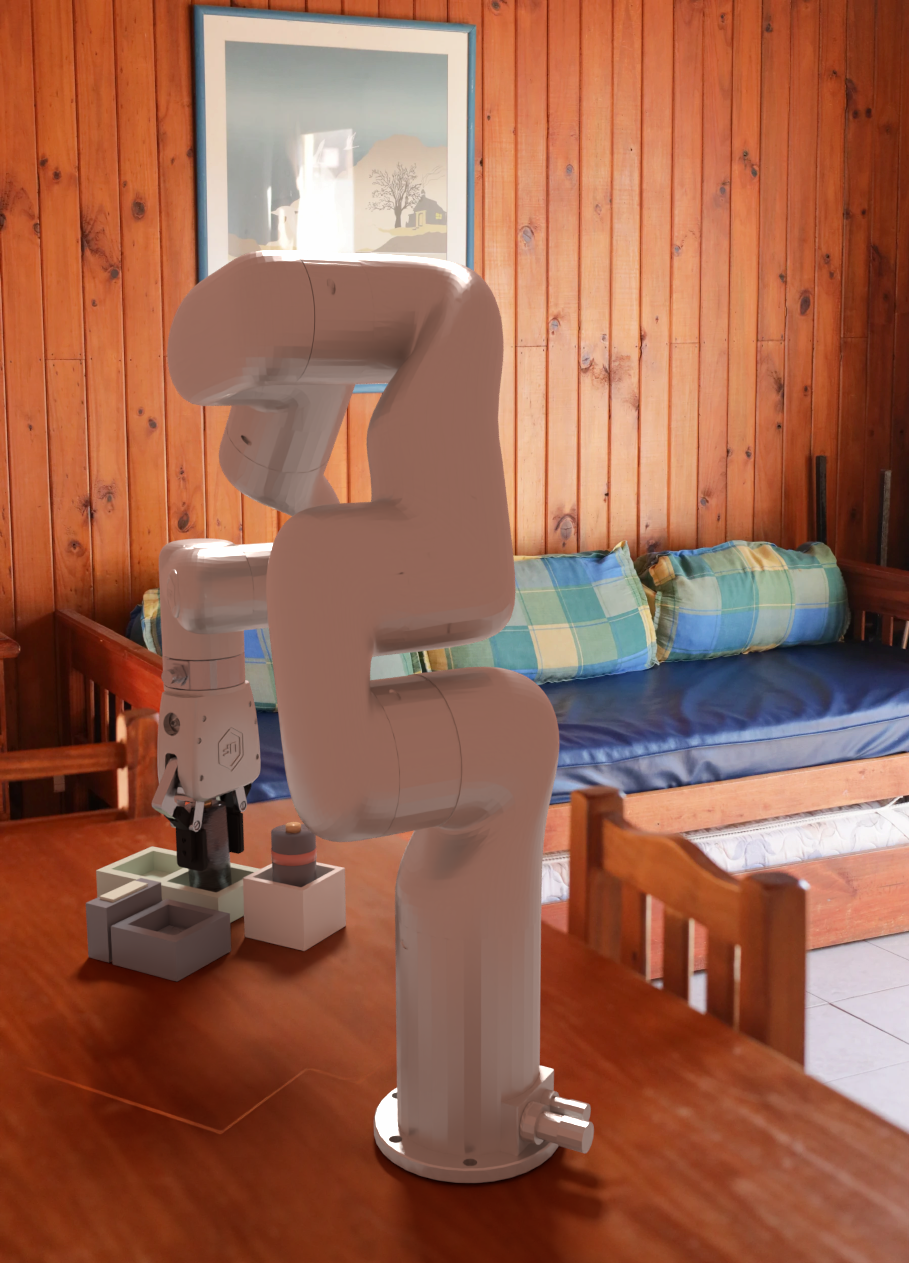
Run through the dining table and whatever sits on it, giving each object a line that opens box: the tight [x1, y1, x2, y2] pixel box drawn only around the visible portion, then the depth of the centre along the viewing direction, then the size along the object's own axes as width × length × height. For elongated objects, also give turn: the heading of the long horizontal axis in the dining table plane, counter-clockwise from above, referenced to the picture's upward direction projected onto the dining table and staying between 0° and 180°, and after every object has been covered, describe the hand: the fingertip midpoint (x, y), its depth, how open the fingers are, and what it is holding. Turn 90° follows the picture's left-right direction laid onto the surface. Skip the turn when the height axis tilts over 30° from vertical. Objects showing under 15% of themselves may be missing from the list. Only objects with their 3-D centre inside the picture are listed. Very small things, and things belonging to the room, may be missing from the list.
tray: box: [95, 846, 261, 924], centre depth 131 cm, size 15×8×3 cm, turn 61°
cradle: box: [85, 878, 232, 983], centre depth 118 cm, size 10×7×5 cm
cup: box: [243, 821, 347, 952], centre depth 123 cm, size 7×7×10 cm
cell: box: [185, 799, 232, 892], centre depth 129 cm, size 4×4×10 cm
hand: (211, 857), depth 129 cm, fingers open, 4 cm apart
